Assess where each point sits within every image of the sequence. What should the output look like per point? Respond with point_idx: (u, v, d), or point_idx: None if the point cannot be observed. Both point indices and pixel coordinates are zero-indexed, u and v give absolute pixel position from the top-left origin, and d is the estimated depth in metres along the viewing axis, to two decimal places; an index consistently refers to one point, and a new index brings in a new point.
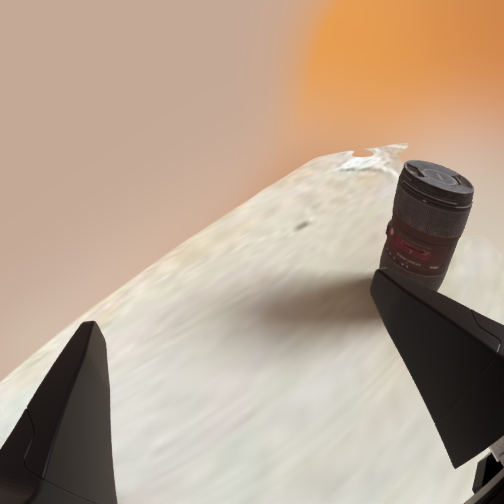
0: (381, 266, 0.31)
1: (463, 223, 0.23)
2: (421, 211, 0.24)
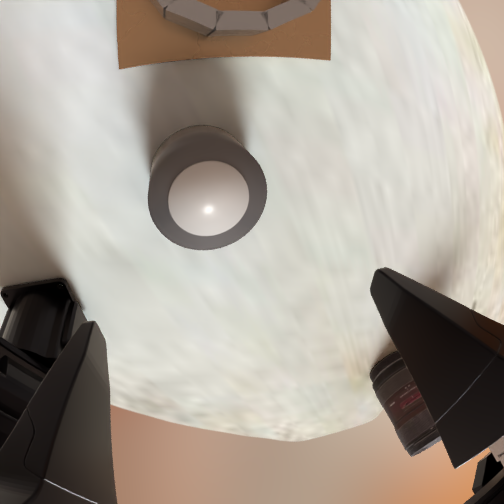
0: None
1: (401, 438, 0.31)
2: (428, 422, 0.29)
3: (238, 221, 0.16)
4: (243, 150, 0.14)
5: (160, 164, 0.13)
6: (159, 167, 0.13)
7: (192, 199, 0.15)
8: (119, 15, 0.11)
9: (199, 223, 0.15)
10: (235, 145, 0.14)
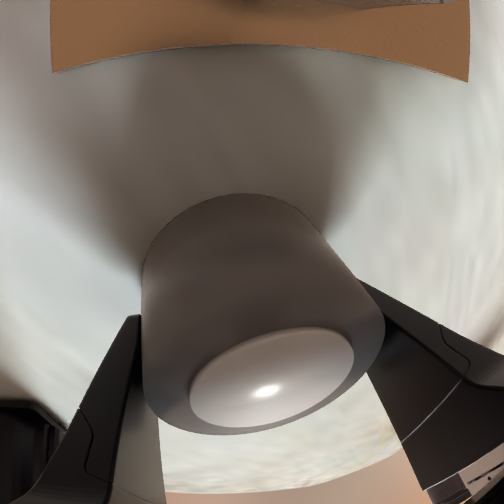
0: None
1: (430, 496, 0.23)
2: (461, 482, 0.21)
3: (321, 400, 0.08)
4: (363, 297, 0.06)
5: (164, 344, 0.05)
6: (162, 351, 0.05)
7: (242, 394, 0.06)
8: None
9: (250, 417, 0.07)
10: (350, 290, 0.06)
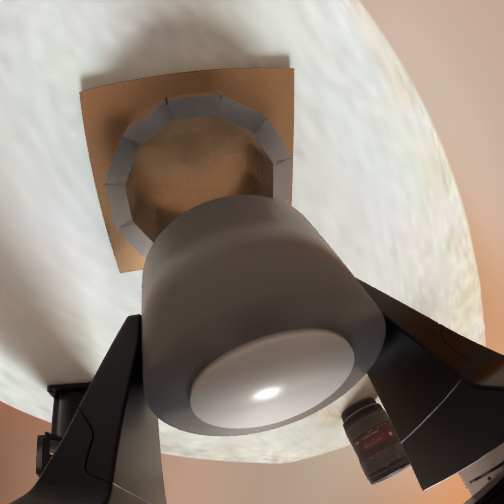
0: (379, 412, 0.42)
1: (363, 470, 0.38)
2: (384, 460, 0.35)
3: (321, 401, 0.08)
4: (364, 299, 0.06)
5: (164, 346, 0.05)
6: (163, 353, 0.05)
7: (243, 396, 0.06)
8: (109, 232, 0.18)
9: (251, 418, 0.07)
10: (350, 291, 0.06)
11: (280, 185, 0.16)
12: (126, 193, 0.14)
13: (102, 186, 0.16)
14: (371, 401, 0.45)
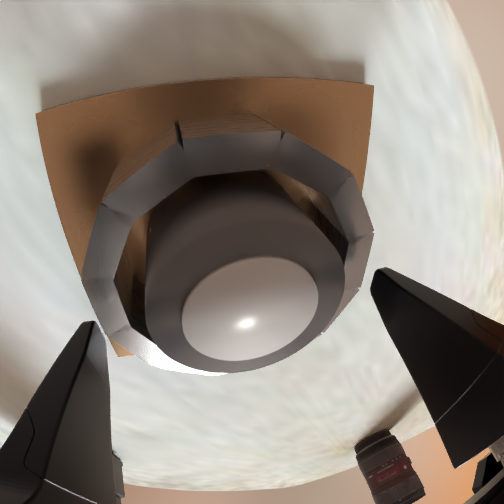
0: (394, 445, 0.37)
1: (375, 502, 0.33)
2: (398, 495, 0.30)
3: (295, 338, 0.10)
4: (318, 235, 0.08)
5: (163, 265, 0.07)
6: (162, 271, 0.07)
7: (225, 318, 0.08)
8: None
9: (234, 348, 0.09)
10: (305, 227, 0.08)
11: (352, 270, 0.11)
12: (117, 290, 0.09)
13: (82, 257, 0.11)
14: (386, 434, 0.40)
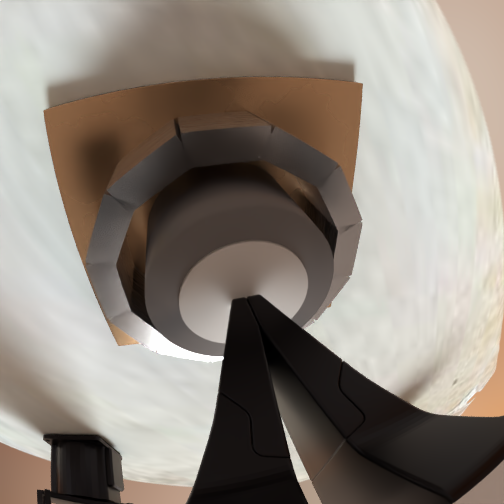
0: None
1: None
2: None
3: None
4: (306, 221, 0.08)
5: (162, 248, 0.08)
6: (161, 253, 0.08)
7: (219, 301, 0.09)
8: None
9: None
10: (294, 213, 0.08)
11: (342, 258, 0.11)
12: (119, 275, 0.09)
13: (85, 247, 0.11)
14: None
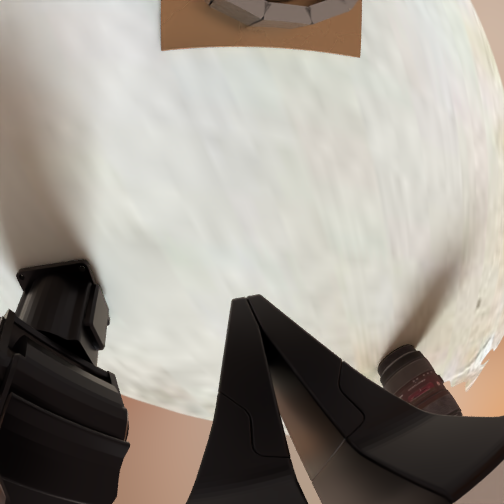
0: (423, 359, 0.36)
1: None
2: None
3: None
4: None
5: None
6: None
7: None
8: None
9: None
10: None
11: None
12: None
13: None
14: (412, 348, 0.39)
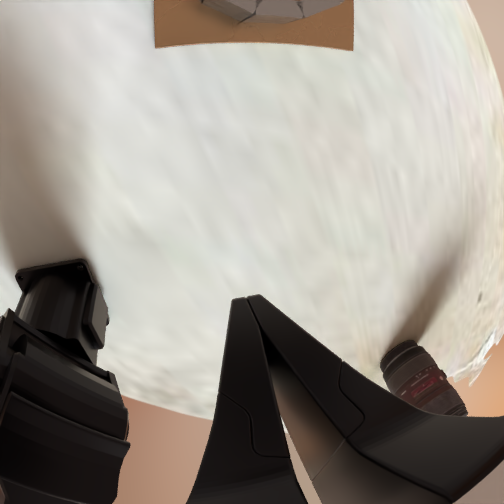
0: (425, 354, 0.36)
1: None
2: (439, 409, 0.29)
3: None
4: None
5: None
6: None
7: None
8: None
9: None
10: None
11: None
12: None
13: None
14: (414, 344, 0.39)
